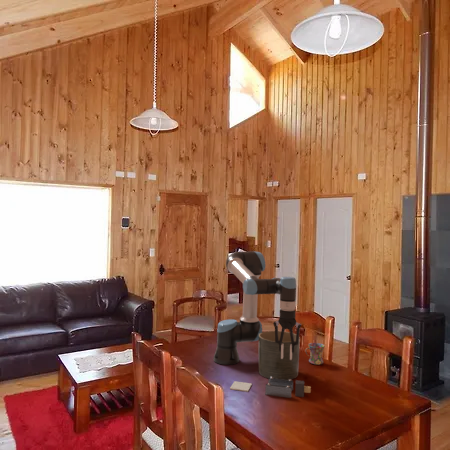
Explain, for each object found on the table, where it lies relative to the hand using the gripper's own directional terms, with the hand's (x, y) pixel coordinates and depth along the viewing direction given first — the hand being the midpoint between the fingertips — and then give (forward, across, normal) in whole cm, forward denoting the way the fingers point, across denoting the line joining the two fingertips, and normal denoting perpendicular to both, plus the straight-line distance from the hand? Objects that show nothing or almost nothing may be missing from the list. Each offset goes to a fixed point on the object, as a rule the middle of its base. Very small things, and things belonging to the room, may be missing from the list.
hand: (286, 358), depth 189 cm
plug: (+17, +8, 0) cm, 18 cm away
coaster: (+17, -22, 0) cm, 28 cm away
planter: (+17, -7, +25) cm, 31 cm away
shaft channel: (+17, -3, 0) cm, 17 cm away
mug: (+17, +11, +48) cm, 52 cm away
